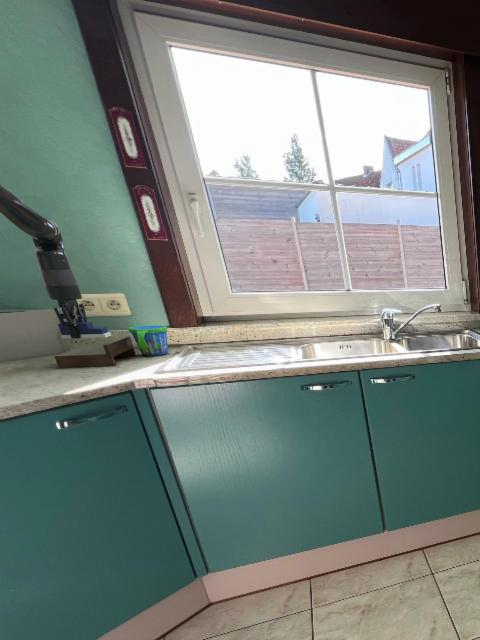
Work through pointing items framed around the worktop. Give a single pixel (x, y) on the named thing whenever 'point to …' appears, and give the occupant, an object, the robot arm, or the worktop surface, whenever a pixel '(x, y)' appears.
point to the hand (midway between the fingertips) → (80, 336)
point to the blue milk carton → (85, 331)
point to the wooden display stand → (96, 354)
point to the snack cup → (151, 339)
